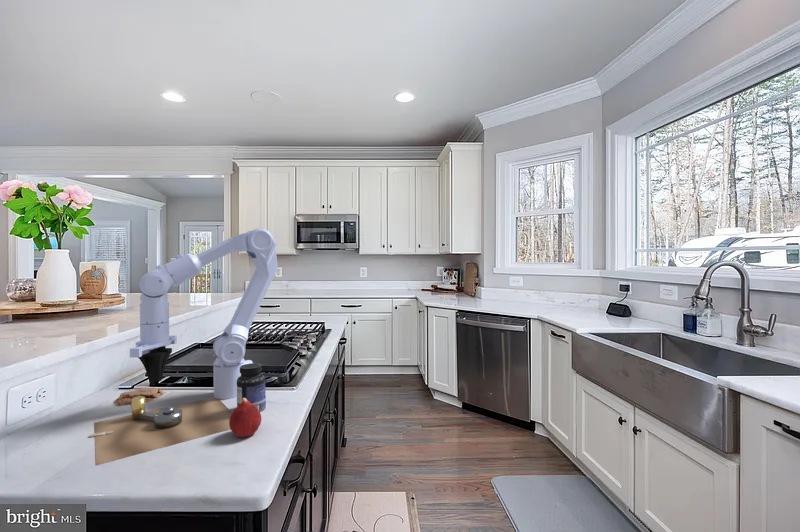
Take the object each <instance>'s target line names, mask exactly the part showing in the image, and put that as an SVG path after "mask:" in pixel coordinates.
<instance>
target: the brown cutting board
mask: <svg viewBox="0 0 800 532" xmlns="http://www.w3.org/2000/svg"><path fill="white" fill-rule="evenodd" d="M170 407H174V409H181V410H182V422H181V423H179V424H177V425H174V426H171V427H166V428H157V427H155V426H154V422H153V421H148V420H143V419H132V414H129V415H124V416H120V417H115V418H111V419H106V420H100V421H97V422H94V432H93V433H90V435H89V436H88V438H94V447H95V450H94V451H95V466H99V465H104V464H107V463H110V462H114V461H117V460H122V459H126V458H129V457H133V456H137V455H140V454H144V453H148V452H152V451H155V450H159V449H163V448H167V447H170V446H174V445H177V444H182V443H185V442H189V441H192V440H197V439H202V438H205V437H209V436H212V435H215V434H218V433H222V432H227V431H231V429H230V426H229V420H230V416H231V414H232V412H233V411H232V410H230V409H229V408H228V407H227V406H226V405H225V403H223V401H222V400H221V399H217V398H215V397H214V396H213V397H208V398H204V399H200V400H195V401H191V402H187V403H186V402H185V403H181V404H177V405H176V404H175V405H172V406H170ZM163 408H164V407H162V408H158V409H152V410H148V411H146V412H150V413H155V414H156V413H158V412H160V411H163Z"/></svg>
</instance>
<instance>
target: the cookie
mask: <svg viewBox="0 0 800 532" xmlns="http://www.w3.org/2000/svg"><path fill="white" fill-rule="evenodd" d="M162 395H164V391H163V389H161V388H157V387H145V388H138V389H134V390H129V391H125V392H122V393H120V395H119V396H118V397H117V398H116V399H115V402H114V404H115V405H116V404H117V406H122V407H123V406H129V405H130V406H132V399H133V398H135V397H140V396H144V397H145V404H147V403H150V402H153V401H154V400H155V399H157V398H160V397H161V396H162Z"/></svg>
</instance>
